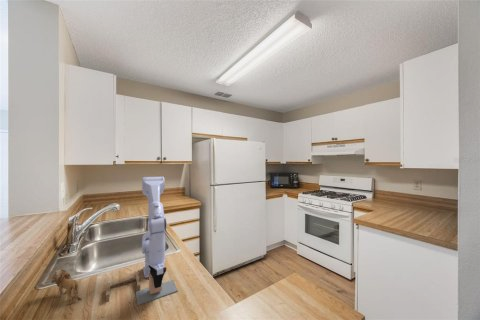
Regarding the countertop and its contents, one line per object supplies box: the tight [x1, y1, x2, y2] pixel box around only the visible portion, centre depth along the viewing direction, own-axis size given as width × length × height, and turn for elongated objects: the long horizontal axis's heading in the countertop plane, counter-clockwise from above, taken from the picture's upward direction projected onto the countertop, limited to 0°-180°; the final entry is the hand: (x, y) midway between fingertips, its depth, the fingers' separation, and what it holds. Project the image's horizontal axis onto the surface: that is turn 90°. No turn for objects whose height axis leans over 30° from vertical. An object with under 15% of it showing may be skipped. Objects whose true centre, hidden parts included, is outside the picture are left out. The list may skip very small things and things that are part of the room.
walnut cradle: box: [105, 274, 141, 303], centre depth 76 cm, size 9×11×2 cm
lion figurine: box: [48, 269, 82, 305], centre depth 72 cm, size 15×5×9 cm, turn 72°
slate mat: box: [135, 279, 178, 306], centre depth 74 cm, size 8×14×1 cm, turn 122°
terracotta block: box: [148, 273, 162, 294], centre depth 74 cm, size 4×4×6 cm
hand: (156, 283), depth 74 cm, fingers closed on terracotta block, 4 cm apart
